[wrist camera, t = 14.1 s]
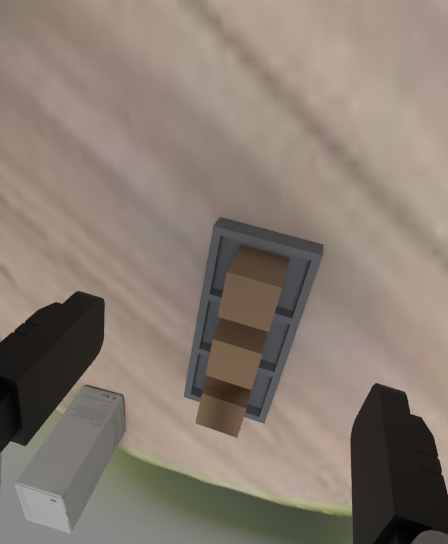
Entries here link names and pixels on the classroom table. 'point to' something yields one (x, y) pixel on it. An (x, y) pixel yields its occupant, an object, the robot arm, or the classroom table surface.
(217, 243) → the tray
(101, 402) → the skincare box
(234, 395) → the block
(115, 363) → the classroom table surface
